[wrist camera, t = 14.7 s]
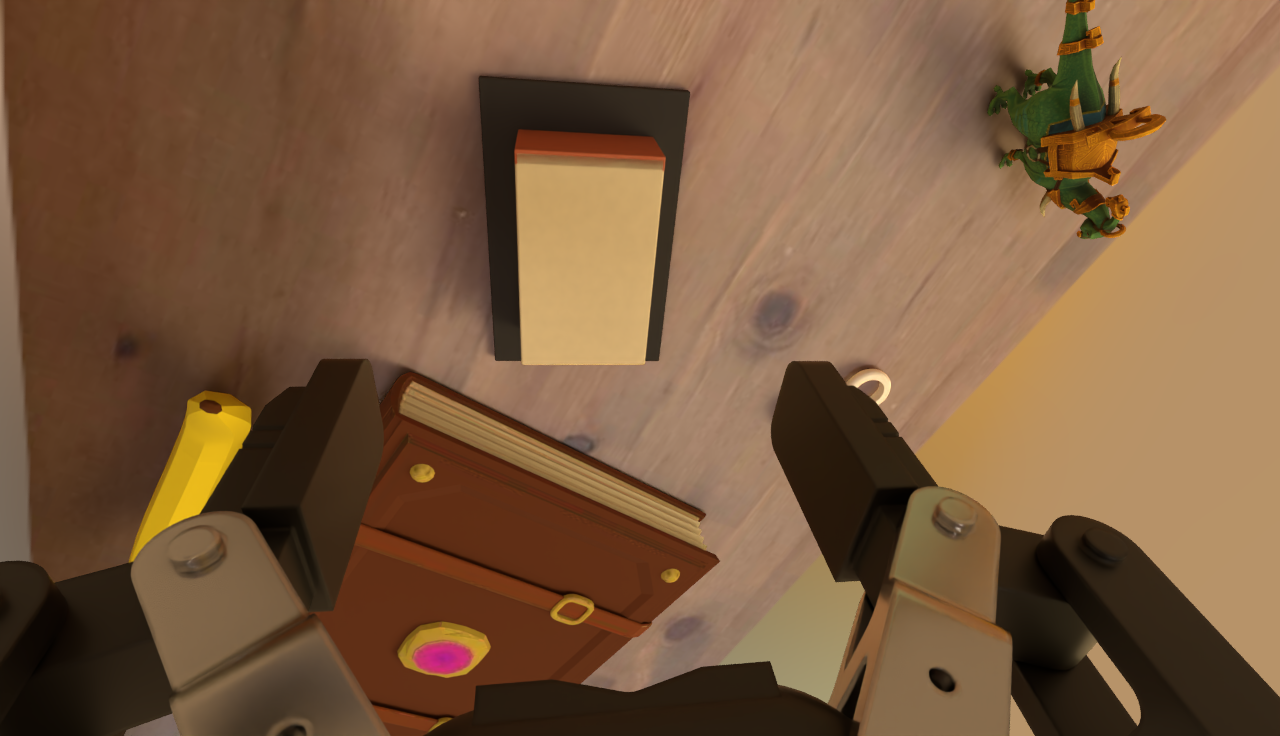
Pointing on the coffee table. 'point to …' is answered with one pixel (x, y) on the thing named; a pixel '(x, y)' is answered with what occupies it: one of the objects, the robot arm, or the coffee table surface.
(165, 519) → the banana
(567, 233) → the top book
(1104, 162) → the figurine
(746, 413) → the coffee table surface
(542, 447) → the book
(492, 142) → the felt pad
